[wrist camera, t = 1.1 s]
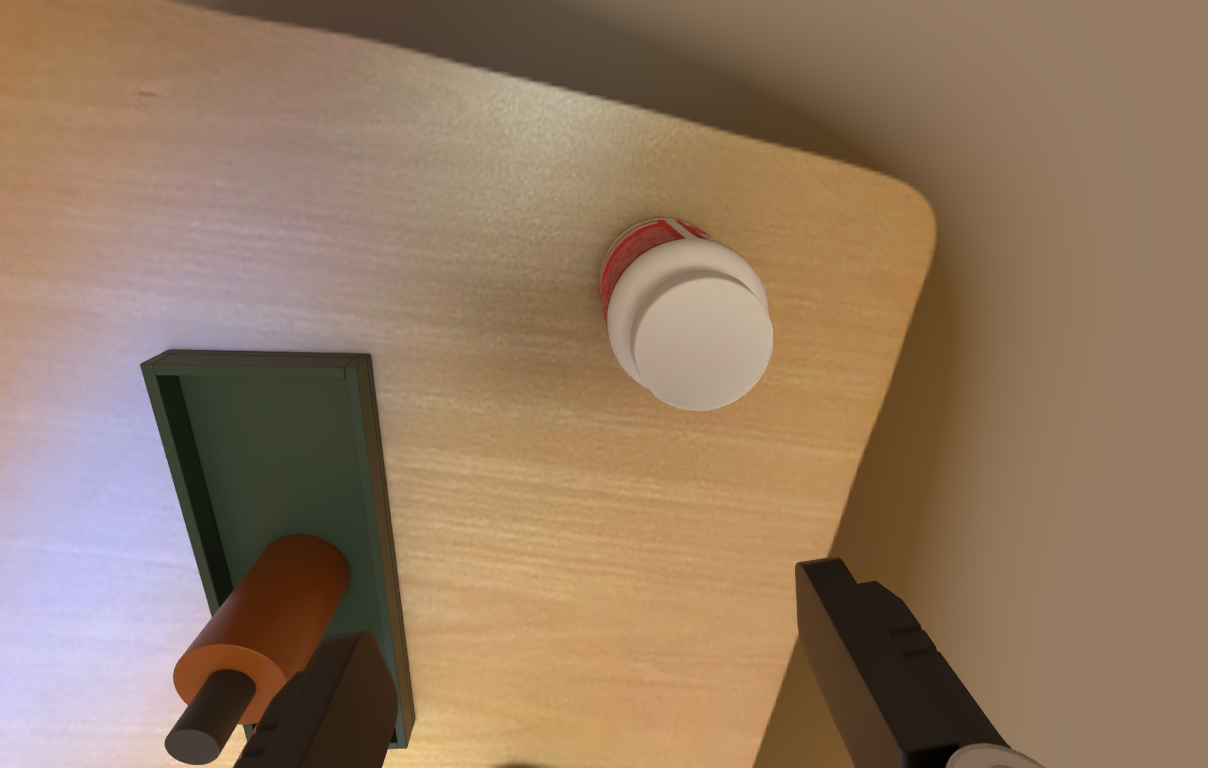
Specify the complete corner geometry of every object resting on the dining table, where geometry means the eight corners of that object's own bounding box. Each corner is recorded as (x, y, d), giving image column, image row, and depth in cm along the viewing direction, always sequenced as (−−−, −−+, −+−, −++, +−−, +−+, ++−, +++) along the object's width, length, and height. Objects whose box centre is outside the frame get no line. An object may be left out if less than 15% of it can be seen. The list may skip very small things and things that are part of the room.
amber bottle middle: (269, 604, 35) (143, 789, 25) (253, 534, 33) (109, 704, 23) (356, 604, 35) (266, 787, 25) (345, 534, 33) (243, 703, 23)
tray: (265, 721, 40) (249, 751, 38) (167, 349, 29) (138, 363, 27) (415, 720, 40) (407, 749, 38) (370, 353, 30) (356, 368, 28)
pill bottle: (594, 332, 30) (602, 427, 20) (603, 211, 28) (618, 247, 17) (711, 340, 30) (778, 436, 20) (729, 221, 28) (815, 261, 18)
